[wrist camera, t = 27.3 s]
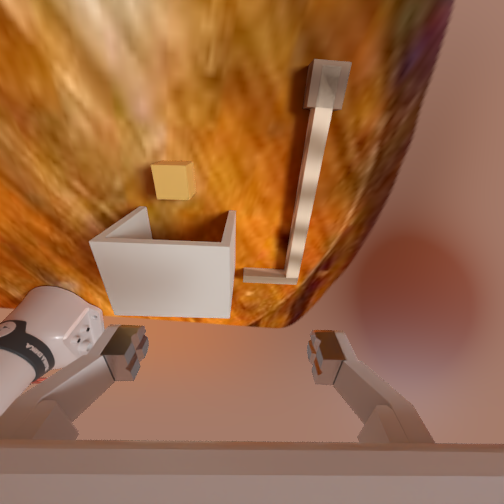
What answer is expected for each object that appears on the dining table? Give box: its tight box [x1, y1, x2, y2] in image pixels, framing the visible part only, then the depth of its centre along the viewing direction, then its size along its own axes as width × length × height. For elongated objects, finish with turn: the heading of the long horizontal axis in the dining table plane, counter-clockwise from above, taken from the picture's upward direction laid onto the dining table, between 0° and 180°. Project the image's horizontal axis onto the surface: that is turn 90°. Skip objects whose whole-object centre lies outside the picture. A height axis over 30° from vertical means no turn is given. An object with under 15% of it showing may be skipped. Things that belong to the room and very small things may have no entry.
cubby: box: [89, 206, 236, 318], centre depth 36 cm, size 12×17×14 cm
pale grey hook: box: [243, 59, 352, 285], centre depth 37 cm, size 35×12×3 cm, turn 176°
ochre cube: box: [151, 161, 196, 200], centre depth 35 cm, size 5×5×5 cm
